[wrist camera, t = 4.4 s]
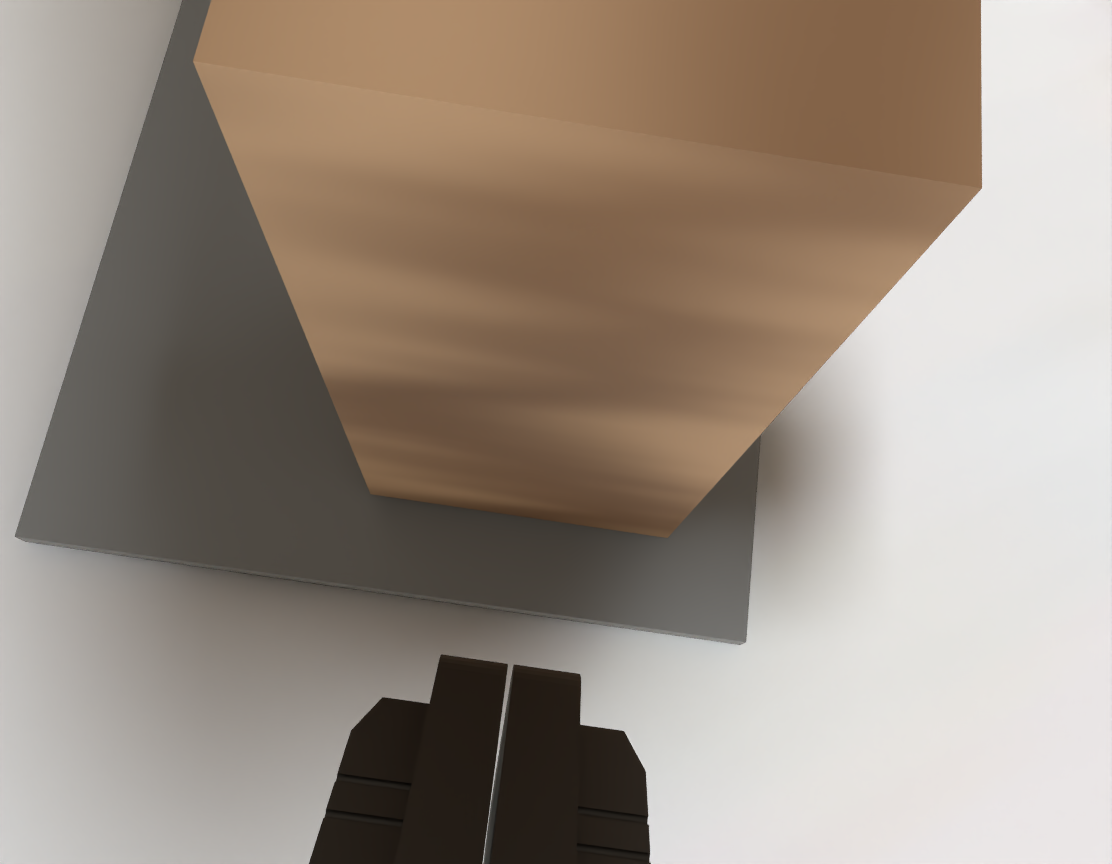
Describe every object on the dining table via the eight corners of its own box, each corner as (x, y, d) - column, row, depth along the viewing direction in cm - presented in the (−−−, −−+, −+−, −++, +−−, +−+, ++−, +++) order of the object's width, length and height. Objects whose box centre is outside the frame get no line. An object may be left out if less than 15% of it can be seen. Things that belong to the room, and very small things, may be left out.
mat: (25, 541, 16) (14, 536, 16) (268, -247, 22) (265, -264, 22) (740, 644, 17) (746, 642, 16) (797, -156, 22) (802, -172, 22)
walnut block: (371, 496, 17) (193, 59, 6) (423, 235, 18) (351, -467, 8) (665, 540, 17) (981, 189, 6) (690, 277, 18) (978, -355, 8)
